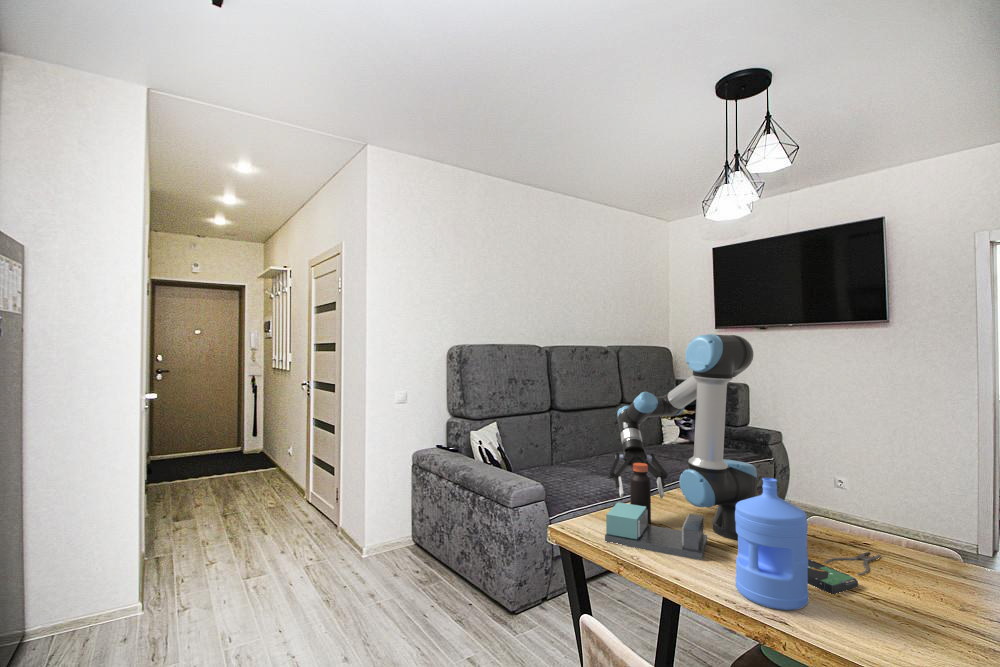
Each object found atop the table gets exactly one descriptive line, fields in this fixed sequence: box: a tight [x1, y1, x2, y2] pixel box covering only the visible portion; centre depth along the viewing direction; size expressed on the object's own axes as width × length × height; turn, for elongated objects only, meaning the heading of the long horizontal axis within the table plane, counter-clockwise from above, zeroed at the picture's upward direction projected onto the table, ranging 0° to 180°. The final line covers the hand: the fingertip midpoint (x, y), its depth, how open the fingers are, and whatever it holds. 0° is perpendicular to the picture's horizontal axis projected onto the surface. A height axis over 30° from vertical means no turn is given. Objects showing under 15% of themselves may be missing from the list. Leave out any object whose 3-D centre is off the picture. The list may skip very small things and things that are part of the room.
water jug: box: [735, 477, 810, 611], centre depth 121 cm, size 16×16×28 cm
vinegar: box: [629, 463, 652, 525], centre depth 171 cm, size 7×7×20 cm
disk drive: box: [808, 558, 859, 595], centre depth 129 cm, size 10×3×15 cm
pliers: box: [824, 551, 882, 576], centre depth 140 cm, size 10×1×20 cm
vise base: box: [604, 513, 708, 561], centre depth 153 cm, size 28×16×8 cm, turn 62°
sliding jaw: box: [605, 501, 648, 539], centre depth 158 cm, size 10×14×6 cm
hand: (641, 496), depth 168 cm, fingers open, 13 cm apart
